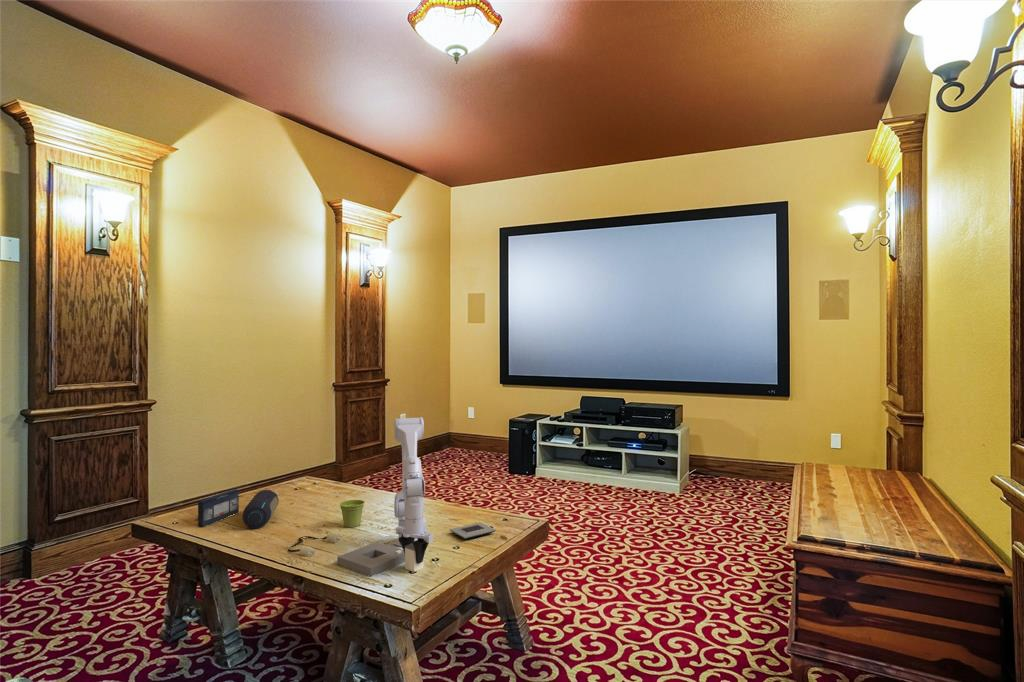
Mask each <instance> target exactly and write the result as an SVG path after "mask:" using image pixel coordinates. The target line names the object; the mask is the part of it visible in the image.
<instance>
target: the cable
mask: <svg viewBox="0 0 1024 682" xmlns="http://www.w3.org/2000/svg"><path fill="white" fill-rule="evenodd" d="M303 537H308V538H307V539H310V538H313V539H312V540H314V539H325V540H326V541H327V543H331V542H333V543H332V544H336V543H338V542H340V541H341V538H340V537H341V536H340V534H337V533H333V532H329V533H328V534H327V536H324V537H321V538H318V537H314V536H310V535H307V536H305V535H304V536H301V537H299V538H298V542H296V543H295V544H293V545H292V544H291V546H289V547H288V548H290V547H293V546H295V547H297V546H299V545H300V544H302V543H303V542H304V538H303ZM301 538H303V539H301ZM337 541H338V542H337ZM335 542H336V543H335ZM296 545H297V546H296ZM288 548H287V549H288ZM293 548H294V547H293ZM288 551H289V552H288ZM288 551H287V552H288V553H298V552H299V555H300V556H302V555H304V557H308V556H309V555H310V556H312V555H313V554H315V553H316V551H314V547H313V546H307V545H302V546H301V547H300V548H298V549H291V548H290V549H288ZM312 553H313V554H312ZM310 556H309V557H310Z"/></svg>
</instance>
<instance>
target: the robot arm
mask: <svg viewBox="0 0 1024 682" xmlns="http://www.w3.org/2000/svg"><path fill="white" fill-rule="evenodd" d="M424 433H425V424H424V418H423V417H422V416H420V417H400V418H397V417H395V418H394V420H393V434H394V437H393V438H394V440H395V441H396V442H399V443H400V445H401V461H402V462H401V464H402V465H401V466H402V469H401V475H402V485H401V486H402V488H401V489H400V490H399V491H398V492H396V494H395V495H394V504H393V509H394V513H393V514H394V517H395V518H396V519H397V520H398V522H397V523H398V524H397V525H398V526H396V527H395V534H396V535H398V540H396V541H394V542H392V544H393V545H395V546H397V547H398V546H399V547H402V548H401V549H403V550H404V554H405V546H406V545H409V544H411V543H413V545H414V548H415V554H416V563H417V564H419V563H421V562H423V558H425V557H424V556H425V553H426V551H427V548H428V546H429V544H430V543H432V542H434V534H431V533H430V532H428V531H427V521H426V518H425V516H424V510H425V509H424V508H425V507H424V506H425V505H424V504H425V503H424V497H425V495H426V494H425V493H426V483H425V482H426V481H425V478H424V474H423V470H422V460H421V458H419V457H418V442H419V441H420V440H422V438H423V435H424Z"/></svg>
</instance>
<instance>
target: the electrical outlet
mask: <svg viewBox="0 0 1024 682" xmlns="http://www.w3.org/2000/svg"><path fill="white" fill-rule="evenodd" d="M449 531H450V532H452V533H453V534H456V535H457V536H458V537H461V538H463V540H469V539H471V538H475V537H480V536H484V535H488V534H492V533H495V532H496V531H497V530H496V529H495V528H493V527H492V526H489V525H488V524H487V525H486V524H484V523H482V522H480V521H479V522H475V523H472V524H466V525H463V526H462V525H461V526H458V527H454V528H450V529H449Z"/></svg>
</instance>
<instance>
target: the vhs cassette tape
mask: <svg viewBox="0 0 1024 682" xmlns="http://www.w3.org/2000/svg"><path fill="white" fill-rule="evenodd" d="M239 493H240V491H239V489H237V488H236V489H235V488H233V489H231V490H227V491H224V492H222V493H218V494H217V495H216V494H215V495H213V496H210V497H207V498H205V499H202V500H198V501H197V521H198V522H197V527H198V528H205V526H206V527H207V525H208V526H211V525H213V524H215V523H214V522H216V521H218V522H220V521H219V520H221V519H223V520H225V519H224V518H226V517H228V516H230V515H233V514H236V513H238V512H239V510H240V509H239V507H240V504H239V500H240V499H239V497H240V496H239V495H240V494H239ZM238 514H239V513H238ZM236 515H237V514H236ZM226 519H227V518H226ZM221 521H222V520H221ZM212 523H213V524H212ZM216 523H217V522H216ZM210 524H211V525H210Z"/></svg>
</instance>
